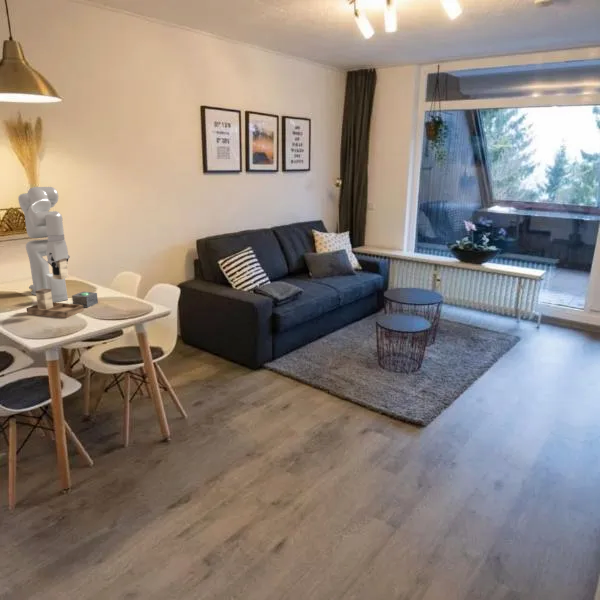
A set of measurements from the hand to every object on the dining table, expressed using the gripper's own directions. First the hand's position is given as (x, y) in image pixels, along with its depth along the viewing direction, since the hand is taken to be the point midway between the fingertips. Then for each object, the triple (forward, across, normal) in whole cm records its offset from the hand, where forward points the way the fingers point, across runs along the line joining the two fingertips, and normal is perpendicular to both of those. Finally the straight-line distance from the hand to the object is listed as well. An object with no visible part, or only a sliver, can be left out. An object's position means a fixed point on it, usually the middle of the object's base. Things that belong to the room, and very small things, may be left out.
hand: (60, 273), depth 246 cm
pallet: (+21, 0, -6) cm, 22 cm away
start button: (+20, -16, 0) cm, 26 cm away
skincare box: (+22, -19, -20) cm, 35 cm away
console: (+21, -16, 0) cm, 27 cm away
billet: (+3, 0, 0) cm, 3 cm away
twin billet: (+20, 0, -12) cm, 23 cm away
